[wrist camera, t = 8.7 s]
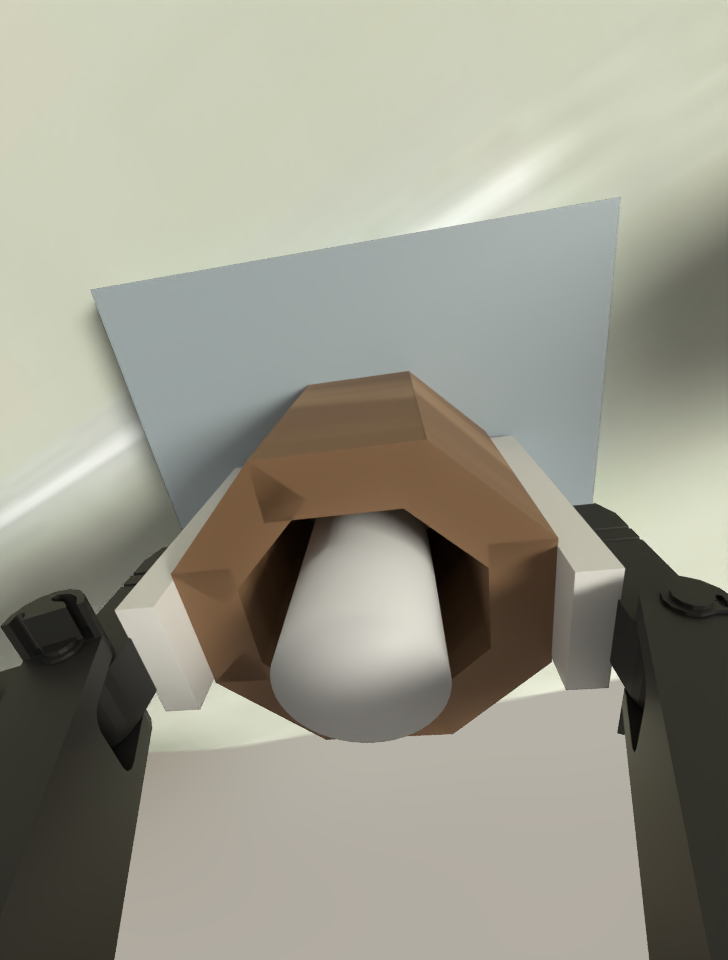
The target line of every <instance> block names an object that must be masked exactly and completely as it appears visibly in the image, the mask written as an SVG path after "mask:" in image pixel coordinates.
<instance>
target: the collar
mask: <svg viewBox="0 0 728 960" xmlns="http://www.w3.org/2000/svg"><path fill="white" fill-rule="evenodd" d="M394 509H405V510H406V511H408V512H409V513H411V514H412V515H413V516H415V517H416V518H418V519H419V520H421V521H422V522H423V523H425V524H426V525H428V526H429V527H430V528H429V529H428V530H427V532H428V538H429V544H430V550H431V556H432V562H433V568H434V574H435V580H436V587H437V593H438V599H439V605H440V611H441V617H442V623H443V629H444V635H445V641H446V647H447V653H448V659H449V666H450V672H451V678H452V688H451V693H450V697H449V700H448V702H447V704H446V706H445V708H444V709H443V711H442V712H441V713H440V714H439V716H438V717H437V718H436V719H435V720H433V721H432V722H431V723H430V724H429V725H427V726H426V727H424V728H423V729H421V730H419V731H417V732H415V733H413V734H411V735H408V736H417V735H418V736H420V735H442V734H454V733H455V732H456V731H458V730H459V729H460V728H462V727H463V726H465V725H466V724H467V723H469V722H470V721H471V720H473V719H474V718H476V717H477V716H478V715H480V714H481V713H482V712H484V711H485V710H486V709H488V708H489V707H491V706H492V705H493V704H495V703H496V702H498V701H499V700H500V699H502V698H503V697H504V696H506V695H507V694H509V693H510V692H511V691H513V690H514V689H515V688H517V687H518V686H520V685H521V684H522V683H524V682H525V681H526V680H528V679H529V678H530V677H532V676H533V675H535V674H536V673H537V672H539V671H540V670H541V669H543V668H544V667H546V666H547V665H548V664H550V663H551V662H552V639H553V621H554V602H555V584H556V566H557V547H558V539H559V538H558V537H557V535H556V534H555V532H554V531H553V529H552V528H551V526H550V525H549V524H548V522H547V521H546V519H545V518H544V516H543V515H542V513H541V512H540V510H539V509H538V507H537V506H536V504H535V503H534V502H533V500H532V499H531V497H530V496H529V494H528V493H527V491H526V490H525V488H524V487H523V485H522V484H521V483H520V481H519V480H518V478H517V477H516V475H515V474H514V472H513V471H512V469H511V468H510V466H509V465H508V464H507V462H506V461H505V459H504V458H503V456H502V455H501V453H500V452H499V450H498V449H497V447H496V446H495V445H494V443H493V442H492V440H491V439H490V437H489V436H488V434H487V433H486V431H484V430H483V429H482V428H481V427H479V426H478V425H477V424H476V423H474V422H473V421H472V420H471V419H469V418H468V417H467V416H465V415H464V414H463V413H462V412H460V411H459V410H458V409H457V408H455V407H454V406H453V405H452V404H450V403H449V402H448V401H446V400H445V399H444V398H443V397H441V396H440V395H439V394H438V393H436V392H435V391H434V390H433V389H431V388H430V387H429V386H427V385H426V384H425V383H424V382H422V381H421V380H420V379H419V378H417V377H416V376H415V375H414V374H412V373H411V372H410V371H404V372H397V373H390V374H383V375H376V376H369V377H362V378H354V379H347V380H340V381H333V382H326V383H319V384H311V385H308V386H307V387H306V389H305V390H304V391H303V392H302V394H301V395H300V396H299V397H298V398H297V400H296V401H295V402H294V403H293V405H292V406H291V407H290V408H289V409H288V411H287V412H286V413H285V414H284V416H283V417H282V418H281V419H280V421H279V422H278V423H277V424H276V425H275V427H274V428H273V429H272V430H271V432H270V433H269V434H268V435H267V436H266V438H265V439H264V440H263V441H262V443H261V444H260V445H259V446H258V447H257V449H256V450H255V451H254V452H253V454H252V455H251V456H250V457H249V458H248V460H247V461H246V463H245V465H244V466H243V468H242V469H241V471H240V472H239V474H238V475H237V477H236V478H235V479H234V481H233V482H232V484H231V485H230V487H229V488H228V490H227V491H226V493H225V494H224V496H223V497H222V499H221V500H220V502H219V503H218V505H217V506H216V508H215V509H214V511H213V512H212V514H211V515H210V517H209V518H208V520H207V521H206V523H205V524H204V526H203V527H202V529H201V530H200V532H199V533H198V535H197V536H196V538H195V539H194V541H193V542H192V543H191V545H190V546H189V548H188V549H187V551H186V552H185V554H184V555H183V557H182V558H181V560H180V561H179V563H178V564H177V566H176V567H175V569H174V570H173V571H172V573H171V576H172V579H173V581H174V583H175V586H176V588H177V591H178V593H179V595H180V598H181V600H182V603H183V605H184V607H185V610H186V612H187V615H188V617H189V619H190V622H191V624H192V627H193V629H194V631H195V634H196V636H197V639H198V641H199V643H200V646H201V648H202V651H203V653H204V655H205V658H206V660H207V663H208V665H209V667H210V670H211V672H212V675H213V677H214V679H215V682H216V683H217V684H219V685H221V686H223V687H225V688H227V689H229V690H231V691H233V692H235V693H237V694H239V695H241V696H243V697H245V698H247V699H248V700H250V701H252V702H254V703H256V704H258V705H260V706H262V707H264V708H266V709H268V710H270V711H272V712H274V713H276V714H277V715H279V716H281V717H283V718H285V719H287V720H289V721H291V722H293V723H295V724H297V725H299V726H301V727H303V728H305V729H306V730H308V731H310V732H312V733H314V734H316V735H318V736H320V737H322V738H324V739H326V740H330V739H334V738H330V737H327V736H325V735H322V734H319V733H317V732H315V731H313V730H310V729H309V728H307V727H305V726H304V725H302V724H300V723H299V722H298V721H296V720H295V719H294V718H292V717H291V716H290V715H289V714H288V713H287V712H286V711H285V710H284V708H283V707H282V706H281V705H280V703H279V702H278V700H277V698H276V696H275V694H274V692H273V689H272V685H271V681H270V669H271V663H272V660H273V657H274V654H275V650H276V647H277V644H278V641H279V637H280V634H281V631H282V628H283V624H284V621H285V618H286V615H287V611H288V608H289V605H290V602H291V599H292V595H293V592H294V589H295V586H296V582H297V579H298V576H299V573H300V569H301V566H302V563H303V560H304V556H305V553H306V550H307V547H308V543H309V540H310V537H311V534H312V530H313V527H314V523H313V522H311V521H310V519H309V518H317V517H327V516H337V515H346V514H356V513H366V512H375V511H385V510H394Z"/></svg>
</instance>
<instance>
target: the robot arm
mask: <svg viewBox="0 0 728 960" xmlns="http://www.w3.org/2000/svg"><path fill="white" fill-rule="evenodd" d="M490 439H491V440H492V442H493V443H494V445H495V446H496V447H497V449H498V450H499V452H500V453H501V455H502V456H503V458H504V459H505V461H506V462H507V464H508V465H509V466H510V468H511V469H512V471H513V472H514V474H515V475H516V477H517V478H518V480H519V481H520V483H521V484H522V485H523V487H524V488H525V490H526V491H527V493H528V494H529V496H530V497H531V499H532V500H533V502H534V503H535V504H536V506H537V507H538V509H539V510H540V512H541V513H542V515H543V516H544V518H545V519H546V521H547V522H548V524H549V525H550V526H551V528H552V529H553V531H554V532H555V534H556V535H557V537H558V538H559V539H558V547H557V566H556V584H555V602H554V621H553V639H552V659H553V662H554V664H555V666H556V668H557V671H558V673H559V675H560V677H561V680H562V682H563V684H564V686H565V689H566V690H578V689H597V688H609V682H610V675H611V667H612V666H613V668H614V670H615V671H616V673H617V675H618V676H619V678H620V680H621V682H622V683H623V685H624V687H625V688H624V695H623V701H622V708H621V714H620V720H619V726H618V733H619V734H622V735H625V738H626V748H627V757H628V766H629V775H630V785H631V794H632V803H633V813H634V822H635V831H636V840H637V849H638V859H639V868H640V877H641V886H642V896H643V906H644V915H645V924H646V933H647V942H648V952H649V960H728V593H726V592H725V591H723V590H722V589H720V588H718V587H716V586H713V585H711V584H708V583H706V582H703V581H701V580H697V579H692V578H688V577H683V576H679V575H677V574H676V573H675V572H674V571H673V570H672V569H671V568H670V567H669V566H668V565H667V564H666V563H665V562H664V561H663V560H662V559H661V558H660V557H659V556H658V555H657V554H656V553H655V552H654V551H653V550H652V549H651V548H650V547H649V546H648V545H647V544H646V543H645V542H644V541H643V540H642V539H641V540H640V539H639V536H638V535H637V534H636V533H635V532H634V531H633V530H632V529H631V528H630V529H629V527H628V525H627V524H626V523H625V522H624V521H623V520H622V519H621V518H620V517H619V516H618V515H617V514H616V513H614V512H612V511H610V510H608V509H606V508H604V507H602V506H600V505H598V504H596V503H594V504H583V505H573V506H572V505H571V504H570V502H569V501H568V500H567V499H566V498H565V496H564V495H563V494H562V493H561V492H560V491H559V489H558V488H557V487H556V486H555V485H554V483H553V482H552V481H551V480H550V479H549V478H548V476H547V475H546V474H545V473H544V472H543V470H542V469H541V468H540V467H539V466H538V465H537V463H536V462H535V461H534V460H533V459H532V457H531V456H530V455H529V454H528V453H527V452H526V450H525V449H524V448H523V447H522V446H521V444H520V443H519V442H518V441H517V440H516V439H515V437H514V436H513V435H509V436H501V437H492V438H490ZM242 468H243V467H240V468H235V469H234V470H233V471H232V473H231V474H230V475H229V476H228V477H227V479H226V480H225V481H224V482H223V483H222V484H221V486H220V487H219V488H218V489H217V490H216V491H215V493H214V494H213V495H212V496H211V497H210V499H209V500H208V501H207V502H206V503H205V504H204V506H203V507H202V508H201V509H200V510H199V511H198V513H197V514H196V515H195V516H194V517H193V519H192V520H191V521H190V522H189V523H188V524H187V526H186V527H185V528H184V529H183V530H182V531H181V533H180V534H179V535H178V536H177V537H176V539H175V540H174V541H173V542H172V543H171V544H170V546H169V547H165V548H162V549H161V550H159V551H158V552H156V553H155V554H153V555H152V556H151V557H149V558H148V559H146V560H145V561H144V562H143V563H142V565H141V566H140V567H139V568H138V569H137V570H136V571H135V572H134V576H131V577H130V578H129V579H128V580H127V581H126V582H125V584H124V587H121V588H120V589H119V590H118V591H117V593H116V594H115V595H114V596H113V597H112V598H111V599H110V600H109V601H108V603H107V604H106V605H105V606H104V607H103V608H102V609H101V610H100V612H99V613H98V614H97V615H95V613H94V611H93V609H92V607H91V605H90V603H89V602H88V600H87V598H86V596H85V594H84V593H82V592H81V591H80V590H72V589H69V590H63V591H58V592H54V593H52V594H49V595H46V596H44V597H41V598H39V599H37V600H35V601H33V602H31V603H29V604H27V605H25V606H24V607H22V608H21V609H20V610H18V611H17V612H15V613H14V614H13V615H11V616H10V617H9V618H8V619H7V620H6V621H5V622H4V623H3V624H2V625H1V626H0V627H1V628H2V630H3V631H4V633H5V634H6V636H7V637H8V639H9V640H10V642H11V643H12V645H13V646H14V648H15V649H16V651H17V652H18V654H19V655H20V657H21V658H22V660H23V662H22V664H21V666H18V667H15V668H12V669H8V670H5V671H2V672H0V960H114V958H115V952H116V946H117V939H118V933H119V927H120V921H121V915H122V909H123V902H124V897H125V890H126V884H127V878H128V872H129V866H130V860H131V853H132V847H133V841H134V835H135V829H136V823H137V817H138V810H139V805H140V798H141V792H142V786H143V780H144V774H145V767H146V762H147V755H148V749H149V743H150V737H151V731H152V722H151V717H150V716H149V714H148V712H147V710H146V708H147V707H148V705H149V703H150V701H151V700H152V698H153V696H154V694H155V693H157V695H158V697H159V699H160V701H161V703H162V705H163V707H164V709H165V711H181V710H200V709H201V706H202V704H203V702H204V700H205V697H206V695H207V693H208V691H209V688H210V686H211V684H212V682H213V679H214V677H213V675H212V672H211V670H210V667H209V665H208V663H207V660H206V658H205V655H204V653H203V651H202V648H201V646H200V643H199V641H198V639H197V636H196V634H195V631H194V629H193V627H192V624H191V622H190V619H189V617H188V615H187V612H186V610H185V607H184V605H183V603H182V600H181V598H180V595H179V593H178V591H177V588H176V586H175V583H174V581H173V579H172V576H171V573H172V571H173V570H174V569H175V567H176V566H177V564H178V563H179V561H180V560H181V558H182V557H183V555H184V554H185V552H186V551H187V549H188V548H189V546H190V545H191V543H192V542H193V541H194V539H195V538H196V536H197V535H198V533H199V532H200V530H201V529H202V527H203V526H204V524H205V523H206V521H207V520H208V518H209V517H210V515H211V514H212V512H213V511H214V509H215V508H216V506H217V505H218V503H219V502H220V500H221V499H222V497H223V496H224V494H225V493H226V491H227V490H228V488H229V487H230V485H231V484H232V482H233V481H234V479H235V478H236V477H237V475H238V474H239V472H240V471H241V469H242Z"/></svg>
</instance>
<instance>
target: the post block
mask: <svg viewBox="0 0 728 960" xmlns="http://www.w3.org/2000/svg"><path fill="white" fill-rule="evenodd" d="M620 199H621V197H616V198H610V199H605V200H599V201H593V202H588V203H582V204H576V205H570V206H565V207H559V208H553V209H548V210H542V211H536V212H531V213H525V214H519V215H513V216H508V217H502V218H496V219H491V220H485V221H479V222H474V223H468V224H462V225H456V226H451V227H445V228H439V229H434V230H428V231H422V232H417V233H411V234H405V235H399V236H394V237H388V238H382V239H377V240H371V241H365V242H360V243H354V244H348V245H342V246H337V247H331V248H325V249H320V250H314V251H308V252H303V253H297V254H291V255H285V256H280V257H274V258H268V259H263V260H257V261H251V262H246V263H240V264H234V265H228V266H223V267H217V268H211V269H206V270H200V271H194V272H189V273H183V274H177V275H171V276H166V277H160V278H154V279H149V280H143V281H137V282H131V283H126V284H120V285H114V286H109V287H103V288H97V289H92V290H90V291H91V293H92V296H93V298H94V301H95V304H96V306H97V309H98V311H99V314H100V317H101V319H102V322H103V325H104V327H105V330H106V332H107V335H108V338H109V340H110V343H111V345H112V348H113V351H114V353H115V356H116V358H117V361H118V364H119V366H120V369H121V371H122V374H123V377H124V379H125V382H126V385H127V387H128V390H129V392H130V395H131V398H132V400H133V403H134V405H135V408H136V411H137V413H138V416H139V418H140V421H141V424H142V426H143V429H144V432H145V434H146V437H147V439H148V442H149V445H150V447H151V450H152V452H153V455H154V458H155V460H156V463H157V465H158V468H159V471H160V473H161V476H162V478H163V481H164V484H165V486H166V489H167V492H168V494H169V497H170V499H171V502H172V505H173V507H174V510H175V512H176V515H177V518H178V520H179V523H180V525H181V528H182V530H183V529H184V528H185V527H186V526H187V524H188V523H189V522H190V521H191V520H192V519H193V517H194V516H195V515H196V514H197V513H198V511H199V510H200V509H201V508H202V507H203V506H204V504H205V503H206V502H207V501H208V500H209V499H210V497H211V496H212V495H213V494H214V493H215V491H216V490H217V489H218V488H219V487H220V486H221V484H222V483H223V482H224V481H225V480H226V479H227V477H228V476H229V475H230V474H231V473H232V471H233V470H234V469H235V468H240V467H243V466H244V465H245V463H246V461H247V460H248V458H249V457H250V456H251V455H252V454H253V452H254V451H255V450H256V449H257V447H258V446H259V445H260V444H261V443H262V441H263V440H264V439H265V438H266V436H267V435H268V434H269V433H270V432H271V430H272V429H273V428H274V427H275V425H276V424H277V423H278V422H279V421H280V419H281V418H282V417H283V416H284V414H285V413H286V412H287V411H288V409H289V408H290V407H291V406H292V405H293V403H294V402H295V401H296V400H297V398H298V397H299V396H300V395H301V394H302V392H303V391H304V390H305V389H306V387H307V386H308V385H311V384H319V383H326V382H333V381H340V380H347V379H354V378H362V377H369V376H376V375H383V374H390V373H397V372H404V371H410V372H411V373H412V374H414V375H415V376H416V377H417V378H419V379H420V380H421V381H422V382H424V383H425V384H426V385H427V386H429V387H430V388H431V389H433V390H434V391H435V392H436V393H438V394H439V395H440V396H441V397H443V398H444V399H445V400H446V401H448V402H449V403H450V404H452V405H453V406H454V407H455V408H457V409H458V410H459V411H460V412H462V413H463V414H464V415H465V416H467V417H468V418H469V419H471V420H472V421H473V422H474V423H476V424H477V425H478V426H479V427H481V428H482V429H483V430H484V431H486V433H487V434H488V436H489V437H490V438H492V437H501V436H509V435H513V436H514V437H515V439H516V440H517V441H518V442H519V443H520V444H521V446H522V447H523V448H524V449H525V450H526V452H527V453H528V454H529V455H530V456H531V457H532V459H533V460H534V461H535V462H536V463H537V465H538V466H539V467H540V468H541V469H542V470H543V472H544V473H545V474H546V475H547V476H548V478H549V479H550V480H551V481H552V482H553V483H554V485H555V486H556V487H557V488H558V489H559V491H560V492H561V493H562V494H563V495H564V496H565V498H566V499H567V500H568V501H569V502H570V504H571V505H572V506H573V505H583V504H593V494H594V483H595V472H596V461H597V450H598V439H599V428H600V417H601V406H602V395H603V384H604V373H605V363H606V352H607V341H608V330H609V319H610V308H611V297H612V286H613V275H614V264H615V253H616V242H617V231H618V220H619V209H620ZM309 519H310V521H311V522H313V523H314V527H313V530H312V534H311V537H310V540H309V543H308V547H307V550H306V553H305V556H304V560H303V563H302V566H301V569H300V573H299V576H298V579H297V582H296V586H295V589H294V592H293V595H292V599H291V602H290V605H289V608H288V611H287V615H286V618H285V621H284V624H283V628H282V631H281V634H280V637H279V641H278V644H277V647H276V650H275V654H274V657H273V660H272V663H271V669H270V681H271V685H272V689H273V692H274V694H275V696H276V698H277V700H278V702H279V703H280V705H281V706H282V707H283V708H284V710H285V711H286V712H287V713H288V714H289V715H290V716H291V717H292V718H294V719H295V720H296V721H298V722H299V723H300V724H302V725H304V726H305V727H307V728H309V729H310V730H313V731H315V732H317V733H319V734H322V735H325V736H327V737H330V738H334V739H339V740H344V741H349V742H360V743H374V742H384V741H390V740H395V739H398V738H402V737H405V736H408V735H411V734H413V733H415V732H417V731H419V730H421V729H423V728H424V727H426V726H427V725H429V724H430V723H431V722H432V721H433V720H435V719H436V718H437V717H438V716H439V714H440V713H441V712H442V711H443V709H444V708H445V706H446V704H447V702H448V700H449V697H450V693H451V688H452V678H451V672H450V666H449V659H448V653H447V647H446V641H445V635H444V629H443V623H442V617H441V611H440V605H439V599H438V593H437V587H436V580H435V574H434V568H433V562H432V556H431V550H430V544H429V538H428V532H427V530H428V529H429V528H430V527H429V526H428V525H426V524H425V523H423V522H422V521H421V520H419V519H418V518H416V517H415V516H413V515H412V514H411V513H409V512H408V511H406V510H405V509H394V510H385V511H375V512H366V513H356V514H346V515H337V516H327V517H317V518H309Z"/></svg>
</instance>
